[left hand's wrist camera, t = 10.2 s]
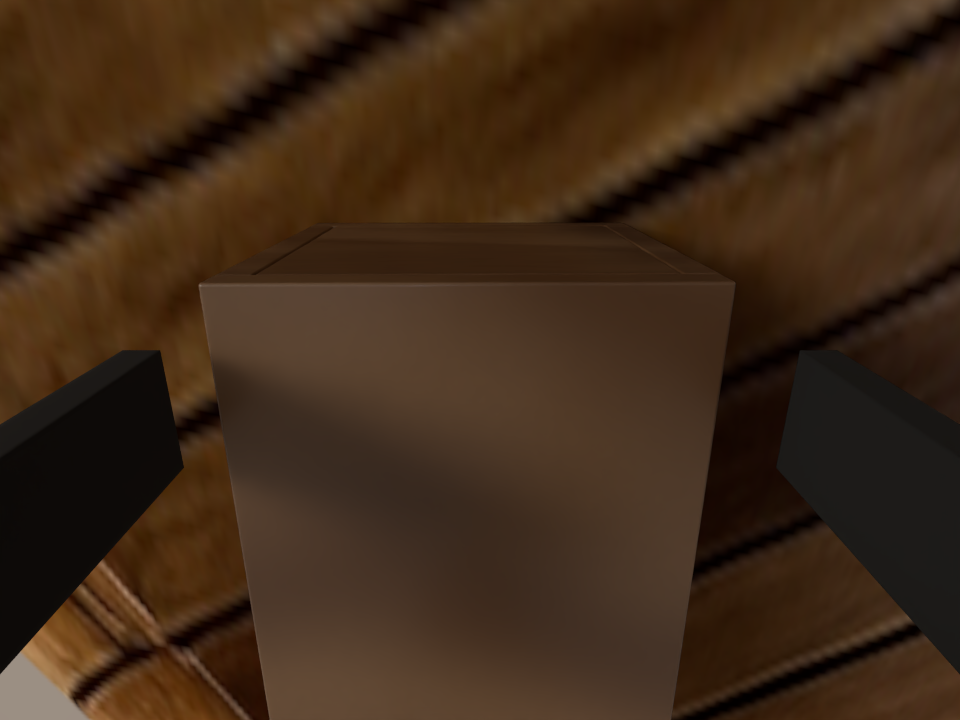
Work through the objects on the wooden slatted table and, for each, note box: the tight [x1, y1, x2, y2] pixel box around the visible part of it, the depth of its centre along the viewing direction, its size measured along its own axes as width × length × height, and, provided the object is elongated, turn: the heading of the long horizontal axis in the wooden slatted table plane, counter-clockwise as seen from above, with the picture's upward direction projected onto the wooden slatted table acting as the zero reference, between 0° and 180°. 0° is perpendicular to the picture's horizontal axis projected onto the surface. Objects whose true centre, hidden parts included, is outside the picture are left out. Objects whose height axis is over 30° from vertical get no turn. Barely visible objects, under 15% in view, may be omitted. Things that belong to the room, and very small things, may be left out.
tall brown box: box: [199, 223, 736, 720], centre depth 20 cm, size 18×11×10 cm, turn 0°
